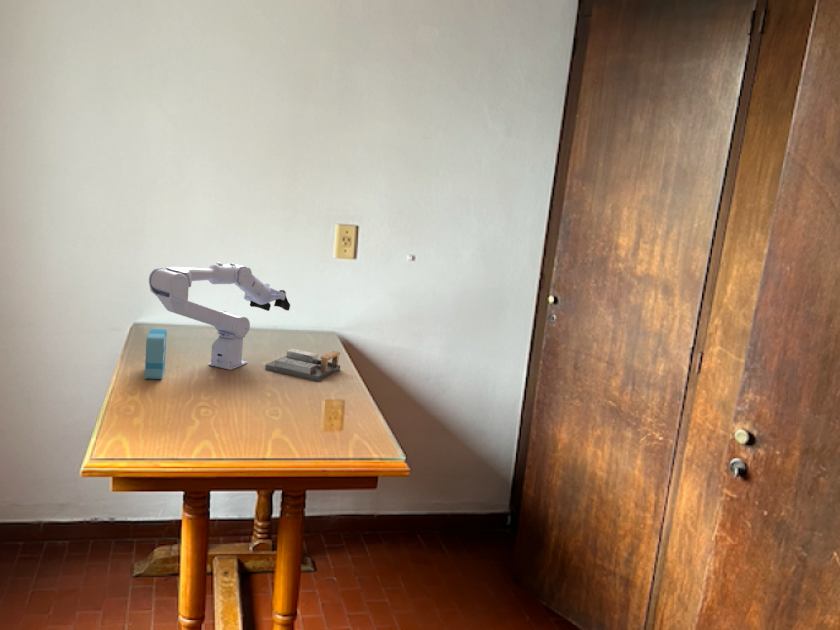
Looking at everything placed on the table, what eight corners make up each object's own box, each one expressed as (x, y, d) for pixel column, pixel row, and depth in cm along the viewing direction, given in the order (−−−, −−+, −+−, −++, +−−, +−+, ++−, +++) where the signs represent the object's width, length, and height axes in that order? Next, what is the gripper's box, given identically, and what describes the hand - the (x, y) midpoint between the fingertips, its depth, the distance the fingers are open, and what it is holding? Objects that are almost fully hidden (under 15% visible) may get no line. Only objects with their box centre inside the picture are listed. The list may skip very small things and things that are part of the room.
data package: (161, 381, 216) (163, 339, 213) (144, 380, 214) (146, 338, 212) (164, 368, 227) (166, 328, 224) (148, 367, 226) (150, 327, 223)
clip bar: (311, 365, 240) (312, 356, 240) (286, 359, 243) (287, 350, 243) (317, 363, 244) (318, 353, 243) (291, 357, 247) (292, 348, 246)
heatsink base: (318, 381, 231) (319, 362, 230) (265, 369, 237) (266, 350, 236) (340, 370, 245) (341, 352, 244) (289, 358, 251) (291, 341, 249)
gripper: (277, 276, 239) (300, 296, 250) (239, 277, 245) (263, 297, 256) (271, 296, 236) (295, 316, 247) (233, 297, 242) (258, 316, 253)
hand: (278, 307), depth 251 cm, fingers open, 7 cm apart
